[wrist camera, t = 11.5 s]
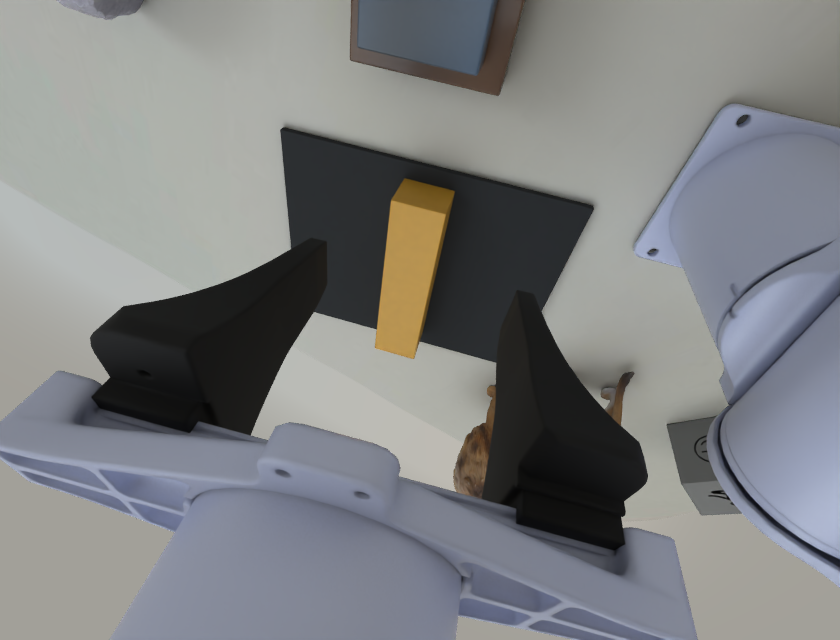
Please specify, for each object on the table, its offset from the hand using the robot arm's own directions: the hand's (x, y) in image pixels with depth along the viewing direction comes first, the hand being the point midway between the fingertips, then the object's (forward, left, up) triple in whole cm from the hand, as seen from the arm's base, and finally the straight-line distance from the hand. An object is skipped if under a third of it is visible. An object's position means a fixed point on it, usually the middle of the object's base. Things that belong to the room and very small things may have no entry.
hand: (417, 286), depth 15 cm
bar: (+2, +7, -10) cm, 12 cm away
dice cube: (-25, +16, -11) cm, 31 cm away
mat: (+1, +7, -10) cm, 13 cm away
